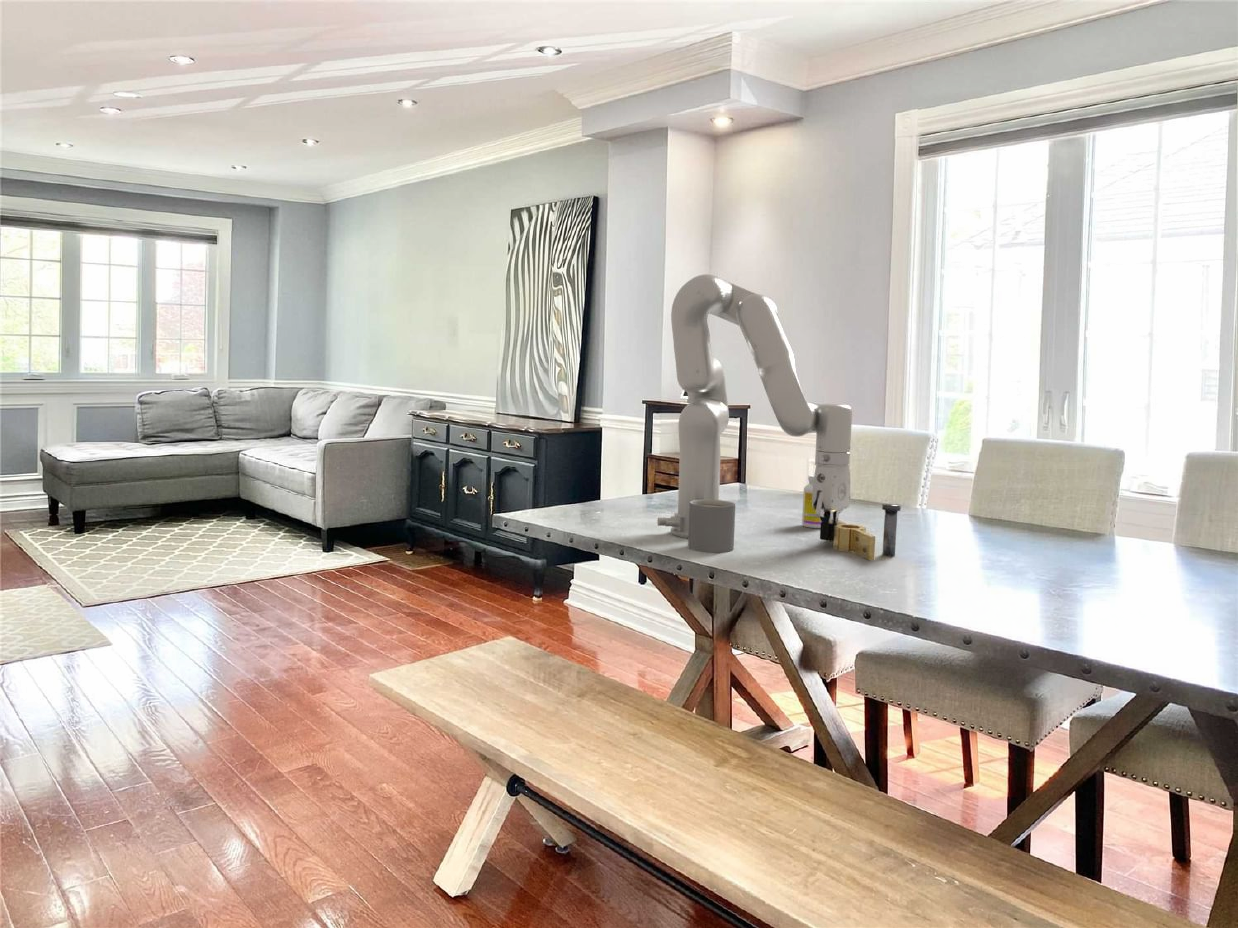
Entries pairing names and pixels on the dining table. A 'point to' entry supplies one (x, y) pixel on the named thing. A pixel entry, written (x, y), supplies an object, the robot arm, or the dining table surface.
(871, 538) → the hinge base
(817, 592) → the dining table surface
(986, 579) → the dining table surface
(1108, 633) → the dining table surface
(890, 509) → the hinge pin
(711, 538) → the coffee mug
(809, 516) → the supplement bottle
